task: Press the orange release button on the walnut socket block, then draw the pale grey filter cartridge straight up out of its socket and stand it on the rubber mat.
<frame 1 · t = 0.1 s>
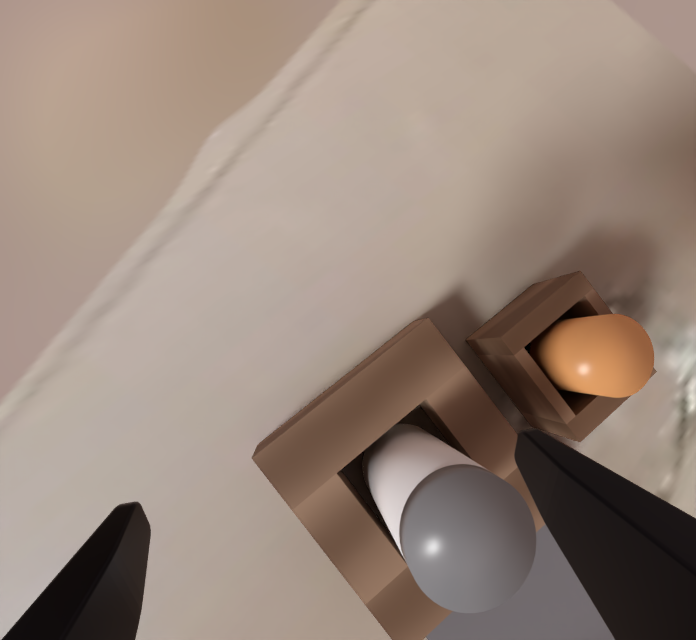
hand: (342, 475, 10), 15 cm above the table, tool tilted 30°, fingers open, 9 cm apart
filter cartridge: (402, 465, 25), resting in socket block
release button: (586, 355, 21), point 5 cm above the table, slide at 0.0 cm
mat: (542, 620, 25), on the table
socket block: (402, 465, 25), on the table
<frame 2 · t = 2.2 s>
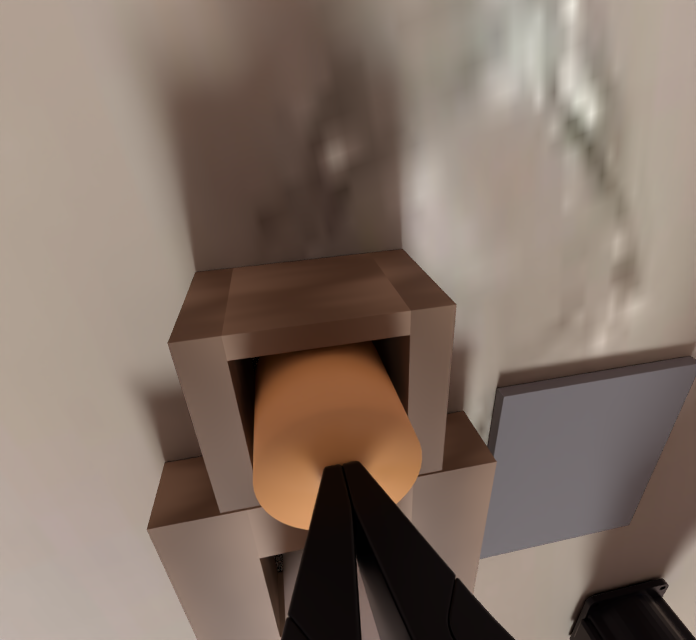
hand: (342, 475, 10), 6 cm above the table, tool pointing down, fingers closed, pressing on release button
filter cartridge: (331, 523, 20), resting in socket block
release button: (328, 417, 11), point 4 cm above the table, slide at 0.5 cm, touching gripper
mat: (569, 462, 22), on the table
socket block: (331, 523, 20), on the table
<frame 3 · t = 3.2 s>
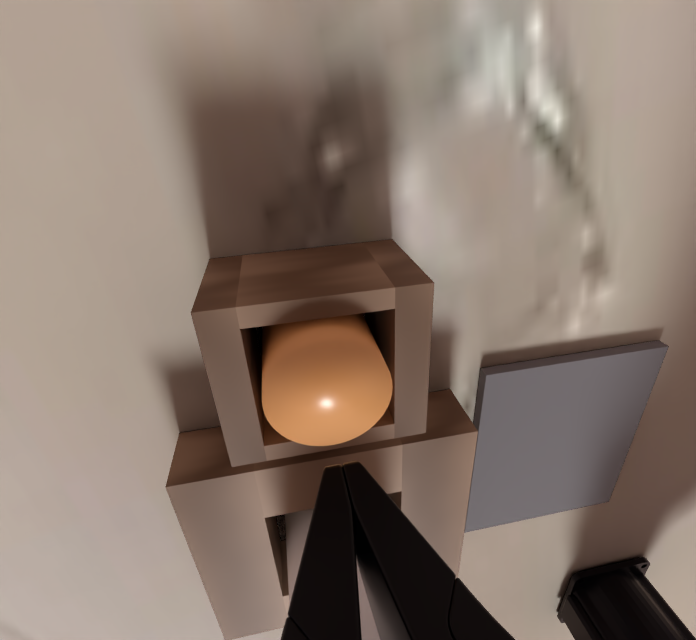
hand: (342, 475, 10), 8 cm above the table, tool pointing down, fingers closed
filter cartridge: (329, 494, 22), resting in socket block
release button: (320, 360, 14), point 3 cm above the table, slide at 1.7 cm
mat: (550, 440, 23), on the table
socket block: (330, 494, 22), on the table
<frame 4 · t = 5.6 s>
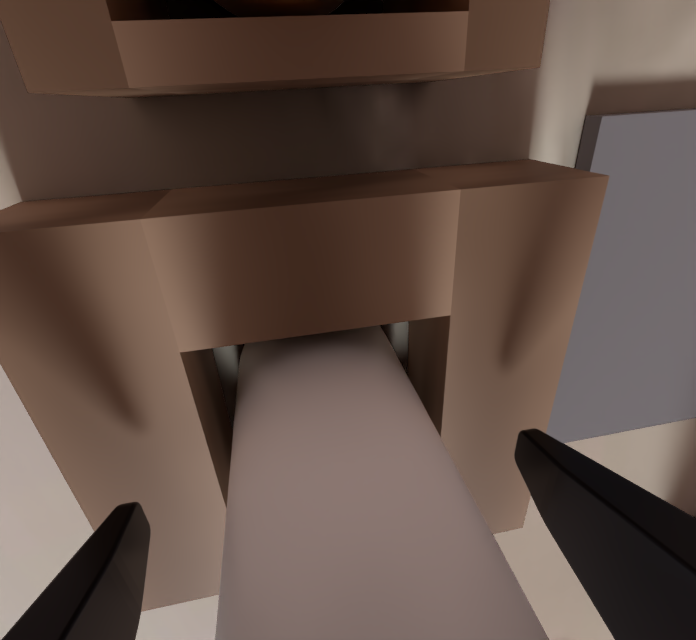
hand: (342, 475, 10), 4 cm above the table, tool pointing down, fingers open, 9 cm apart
filter cartridge: (317, 369, 13), resting in socket block
mat: (672, 293, 15), on the table
socket block: (317, 369, 13), on the table
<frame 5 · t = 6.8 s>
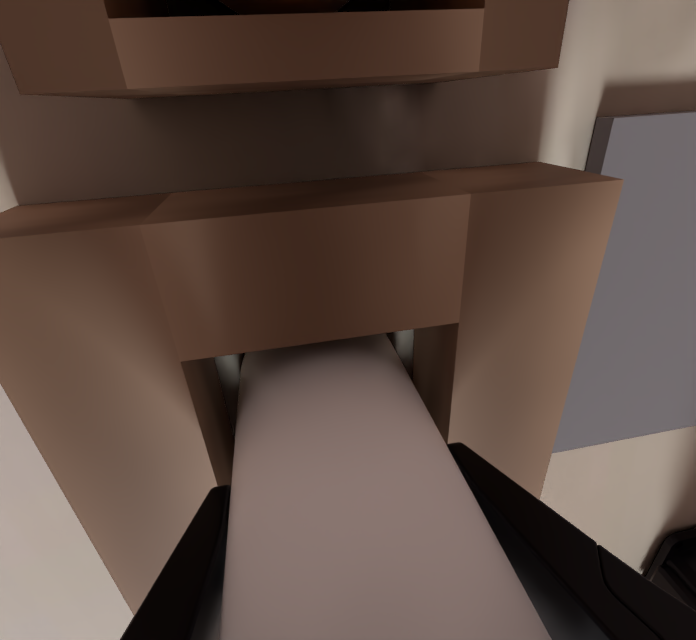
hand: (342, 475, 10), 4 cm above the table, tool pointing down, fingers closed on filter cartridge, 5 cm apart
filter cartridge: (320, 375, 13), resting in socket block, touching gripper
mat: (682, 297, 14), on the table
socket block: (320, 375, 13), on the table
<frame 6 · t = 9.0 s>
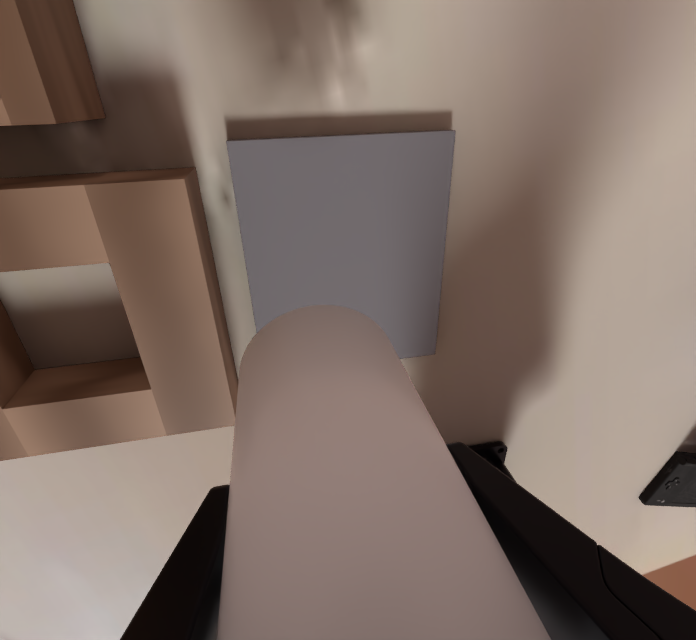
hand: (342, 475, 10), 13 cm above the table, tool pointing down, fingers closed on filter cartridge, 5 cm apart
filter cartridge: (319, 375, 13), point 9 cm above the table, touching gripper
mat: (347, 262, 21), on the table
socket block: (80, 308, 19), on the table
when the fingers open (6 cm above the table, at t = 11.3 s): filter cartridge drops 1 cm, resting on mat.
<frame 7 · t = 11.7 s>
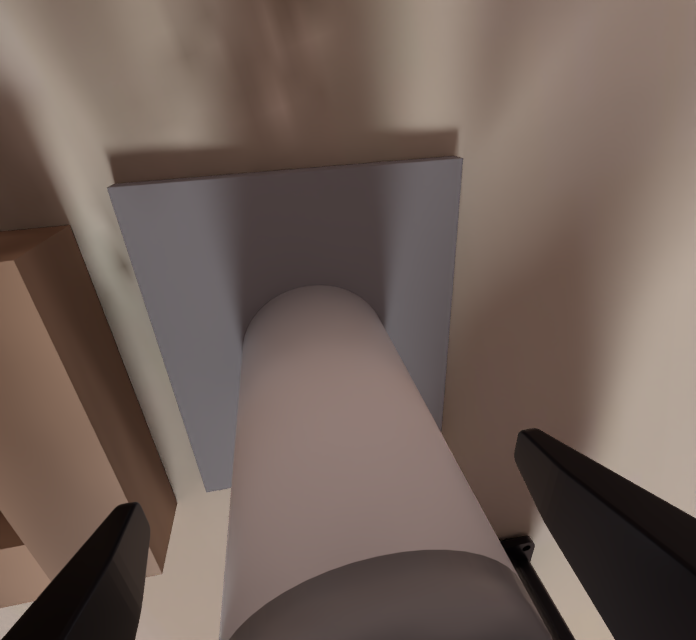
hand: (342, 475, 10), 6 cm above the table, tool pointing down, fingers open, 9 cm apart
filter cartridge: (315, 350, 14), point 1 cm above the table, touching mat
mat: (313, 342, 15), on the table
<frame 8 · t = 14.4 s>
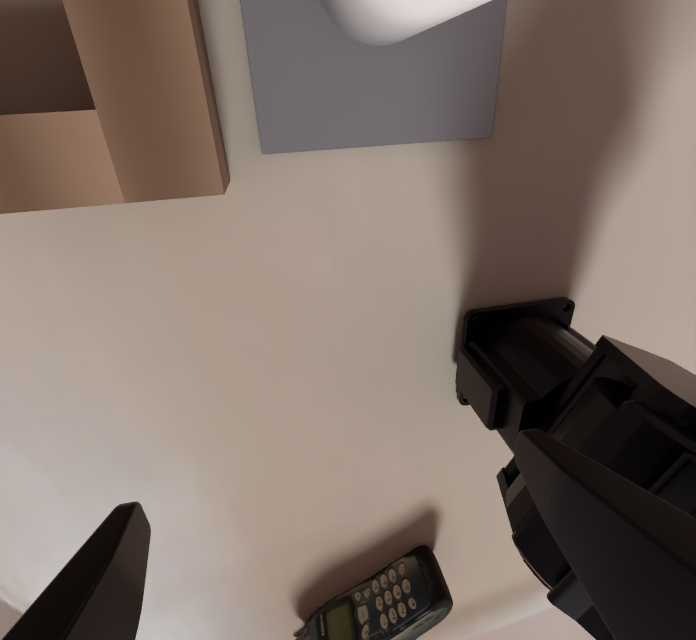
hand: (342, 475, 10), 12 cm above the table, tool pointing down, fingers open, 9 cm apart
mobile phone: (357, 588, 34), on the table
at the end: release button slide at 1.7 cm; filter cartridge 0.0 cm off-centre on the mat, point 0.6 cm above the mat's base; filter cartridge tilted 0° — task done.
